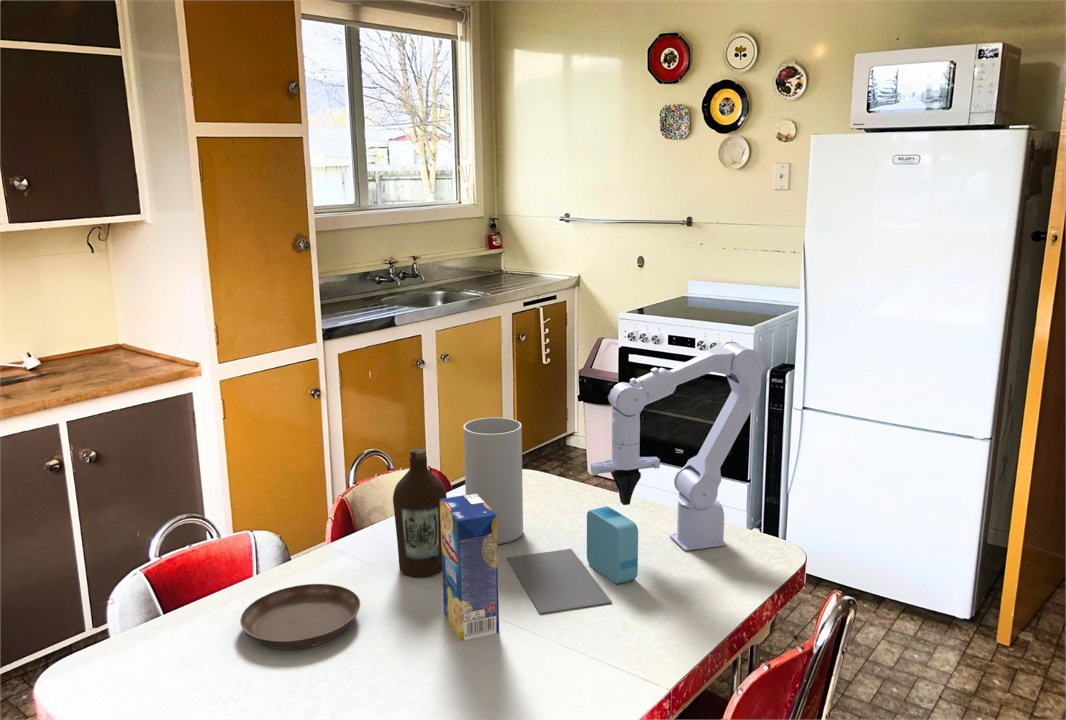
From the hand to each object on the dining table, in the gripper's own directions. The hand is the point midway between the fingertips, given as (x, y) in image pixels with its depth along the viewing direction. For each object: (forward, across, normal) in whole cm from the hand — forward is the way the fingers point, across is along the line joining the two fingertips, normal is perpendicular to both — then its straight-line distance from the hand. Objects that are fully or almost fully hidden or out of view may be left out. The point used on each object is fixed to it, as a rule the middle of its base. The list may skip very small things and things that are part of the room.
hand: (625, 503), depth 180 cm
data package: (+11, +6, +9) cm, 15 cm away
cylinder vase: (+11, +25, -16) cm, 31 cm away
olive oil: (+10, +42, -3) cm, 44 cm away
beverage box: (+10, +37, +20) cm, 44 cm away
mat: (+10, +18, +9) cm, 23 cm away
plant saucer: (+11, +66, +13) cm, 68 cm away
